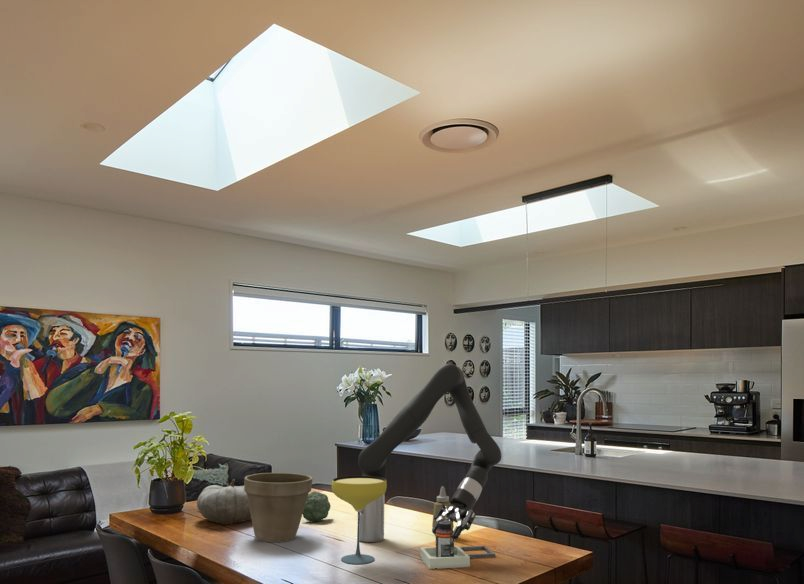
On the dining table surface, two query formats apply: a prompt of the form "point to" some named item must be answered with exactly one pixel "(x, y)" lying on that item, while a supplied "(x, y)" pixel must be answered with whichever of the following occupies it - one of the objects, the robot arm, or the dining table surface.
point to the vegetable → (316, 507)
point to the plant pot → (276, 504)
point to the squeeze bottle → (441, 500)
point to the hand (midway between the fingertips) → (443, 535)
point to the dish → (444, 558)
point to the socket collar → (488, 554)
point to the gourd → (224, 504)
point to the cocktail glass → (358, 503)
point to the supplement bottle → (444, 540)
